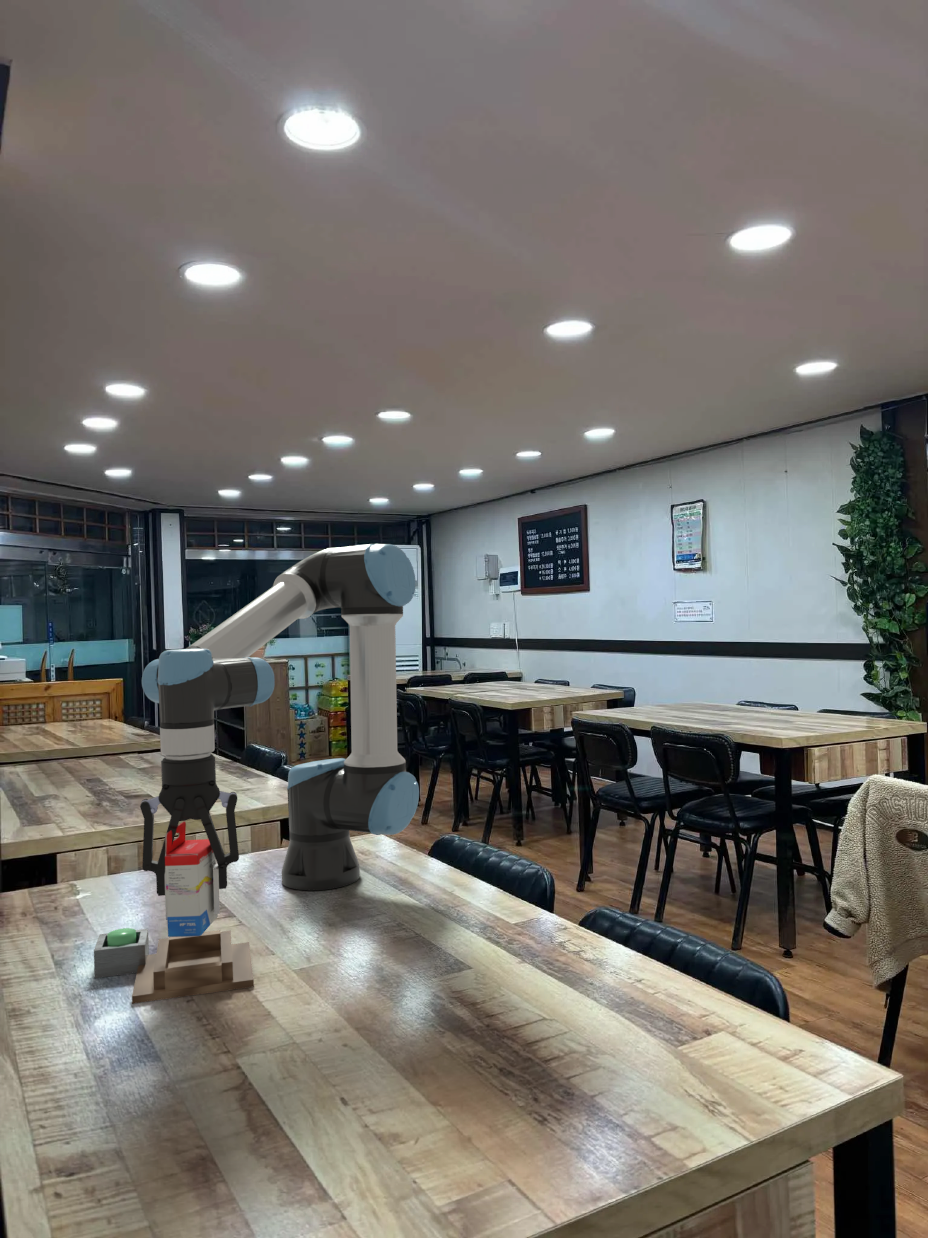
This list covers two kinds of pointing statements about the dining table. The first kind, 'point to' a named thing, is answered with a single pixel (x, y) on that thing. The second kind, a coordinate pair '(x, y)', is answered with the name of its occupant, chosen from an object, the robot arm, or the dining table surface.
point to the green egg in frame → (120, 955)
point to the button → (121, 937)
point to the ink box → (189, 884)
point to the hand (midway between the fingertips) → (193, 913)
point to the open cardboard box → (194, 967)
